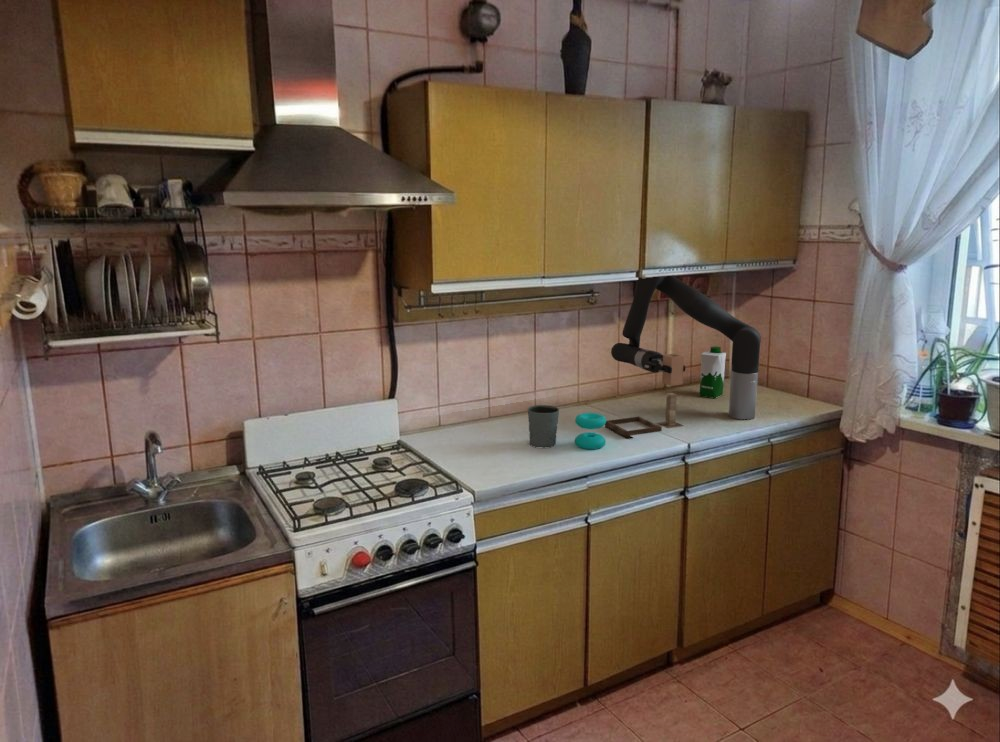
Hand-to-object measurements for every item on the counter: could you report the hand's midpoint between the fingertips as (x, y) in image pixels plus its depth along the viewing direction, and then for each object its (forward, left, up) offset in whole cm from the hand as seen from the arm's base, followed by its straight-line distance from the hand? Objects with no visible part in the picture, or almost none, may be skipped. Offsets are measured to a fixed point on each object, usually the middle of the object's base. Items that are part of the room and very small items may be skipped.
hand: (677, 369), depth 239 cm
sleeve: (-2, -2, -6) cm, 6 cm away
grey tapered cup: (+29, -40, -22) cm, 54 cm away
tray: (+6, -14, -21) cm, 26 cm away
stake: (-2, -2, -21) cm, 22 cm away
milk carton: (-51, +10, -22) cm, 56 cm away
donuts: (+26, -25, -22) cm, 42 cm away
